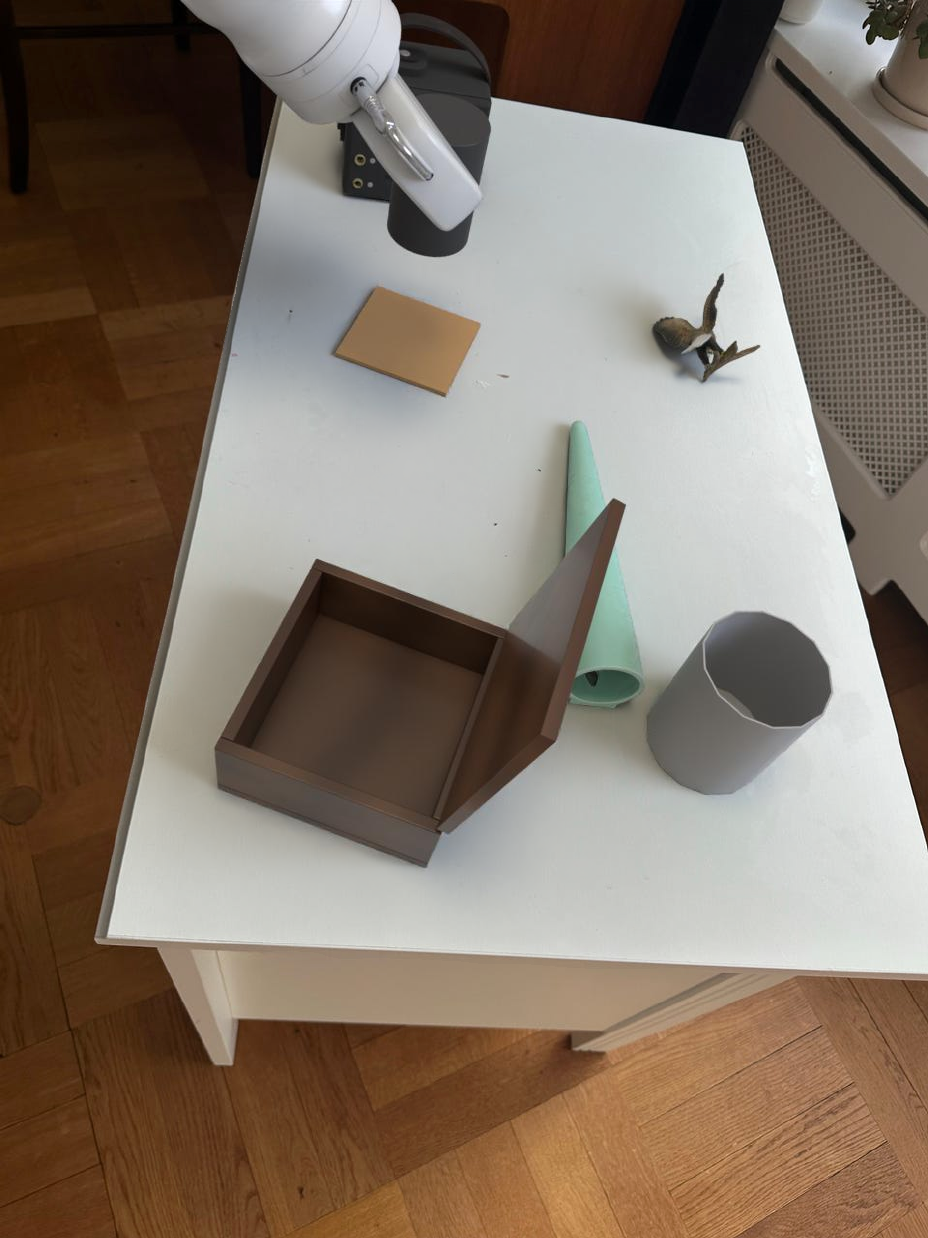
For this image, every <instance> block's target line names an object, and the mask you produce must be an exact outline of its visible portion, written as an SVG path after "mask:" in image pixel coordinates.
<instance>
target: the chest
mask: <svg viewBox="0 0 928 1238" xmlns="http://www.w3.org/2000/svg"><path fill="white" fill-rule="evenodd" d="M507 631H508V629H506V628H503V627H501V626H498V625H495V624H493V623H490V622H488V621H484V620H483V619H480V618H477V617H474V616H472V615H468V614H466V613H463V612H460V611H458V610H456V609H453V608H450V607H447V606H445V605H442V604H441V603H436V602H434V601H431V600H428V599H426V598H424V597H421V596H418V595H416V594H413V593H410V592H407V591H405V590H402V589H399V588H396V587H394V586H391V585H388V584H385V583H383V582H380V581H378V580H375V579H373V578H370V577H367V576H365V575H362V574H359V573H356V572H354V571H351V570H348V569H346V568H343V567H340V566H338V565H335V564H333V563H330V562H327V561H325V560H322V559H319V558H316V559H315V560H314V561H313V563H312V565H311V567H310V569H309V571H308V573H307V575H306V576H305V579H304V580H303V582H302V584H301V586H300V587H299V590H298V591H297V593H296V595H295V597H294V599H293V600H292V603H291V604H290V606H289V609H288V610H287V612H286V614H285V615H284V617H283V619H282V621H281V623H280V625H279V626H278V629H277V630H276V632H275V634H274V636H273V638H272V640H271V642H270V644H269V645H268V647H267V649H266V651H265V653H264V654H263V657H262V658H261V660H260V662H259V663H258V666H257V668H256V670H255V671H254V673H253V675H252V677H251V679H250V680H249V682H248V684H247V686H246V688H245V690H244V692H243V694H242V695H241V696H240V699H239V701H238V703H237V705H236V707H235V709H234V710H233V712H232V714H231V716H230V718H229V719H228V722H227V723H226V725H225V728H224V729H223V731H222V733H221V734H220V737H218V740H217V742H216V743H215V746H214V747H213V751H214V761H215V770H216V772H215V773H216V782H217V789H218V790H222V791H224V792H227V793H229V794H232V795H234V796H237V797H239V798H243V799H245V800H247V801H250V802H252V803H255V804H258V805H260V806H263V807H266V808H269V809H271V810H273V811H276V812H278V813H282V814H284V815H286V816H289V817H291V818H294V819H297V820H299V821H302V822H305V823H307V824H310V825H313V826H315V827H318V828H321V829H323V830H326V831H328V832H330V833H333V834H335V835H339V836H341V837H344V838H346V839H349V840H352V841H354V842H357V843H360V844H362V845H365V846H367V847H370V848H373V849H375V850H378V851H381V852H383V853H386V854H388V855H391V856H393V857H396V858H399V859H402V860H404V861H407V862H410V863H412V864H414V865H417V866H419V867H422V868H424V869H425V868H428V865H429V863H430V861H431V859H432V857H433V854H434V852H435V850H436V847H437V845H438V843H439V841H440V839H441V837H442V834H443V832H442V831H440V830H437V826H438V823H439V820H440V818H441V815H442V812H443V809H444V806H445V804H446V801H447V798H448V795H449V792H450V790H451V787H452V784H453V781H454V779H455V776H456V773H457V770H458V767H459V765H460V762H461V759H462V756H463V753H464V751H465V748H466V745H467V742H468V739H469V737H470V734H471V731H472V728H473V726H474V723H475V720H476V717H477V714H478V712H479V709H480V706H481V703H482V700H483V698H484V695H485V692H486V689H487V686H488V684H489V681H490V678H491V675H492V673H493V670H494V667H495V664H496V661H497V659H498V656H499V653H500V650H501V647H502V645H503V642H504V639H505V636H506V633H507Z"/></svg>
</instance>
